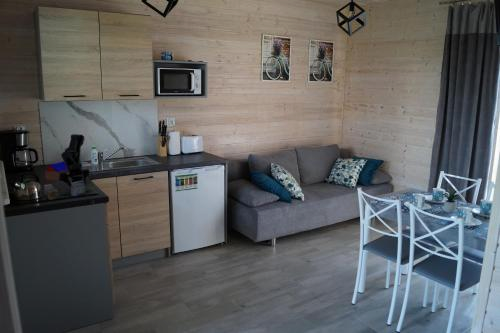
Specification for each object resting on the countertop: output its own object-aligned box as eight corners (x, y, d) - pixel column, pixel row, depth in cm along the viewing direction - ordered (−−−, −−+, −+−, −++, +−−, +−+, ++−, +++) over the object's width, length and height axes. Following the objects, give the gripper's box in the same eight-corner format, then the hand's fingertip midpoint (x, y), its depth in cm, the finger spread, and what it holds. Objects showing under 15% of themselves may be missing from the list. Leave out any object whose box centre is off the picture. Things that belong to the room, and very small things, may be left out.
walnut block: (56, 196, 266) (55, 189, 265) (58, 198, 262) (58, 190, 261) (48, 198, 262) (47, 190, 261) (50, 199, 259) (49, 192, 258)
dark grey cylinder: (53, 194, 271) (52, 185, 270) (55, 196, 267) (54, 187, 266) (45, 195, 268) (44, 187, 266) (47, 197, 264) (46, 188, 263)
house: (74, 175, 330) (73, 160, 328) (58, 180, 311) (57, 165, 308) (61, 174, 332) (60, 160, 330) (44, 180, 313) (43, 164, 311)
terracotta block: (51, 192, 275) (50, 184, 274) (53, 194, 272) (52, 185, 271) (45, 193, 273) (44, 185, 271) (46, 195, 270) (46, 186, 268)
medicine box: (76, 196, 266) (74, 183, 265) (71, 195, 268) (69, 182, 267) (85, 193, 274) (84, 180, 272) (80, 192, 275) (79, 180, 274)
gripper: (58, 160, 263) (65, 180, 257) (87, 157, 275) (95, 176, 269) (55, 170, 271) (62, 190, 265) (84, 167, 283) (91, 185, 277)
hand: (78, 185), depth 269 cm, fingers closed on medicine box, 9 cm apart
